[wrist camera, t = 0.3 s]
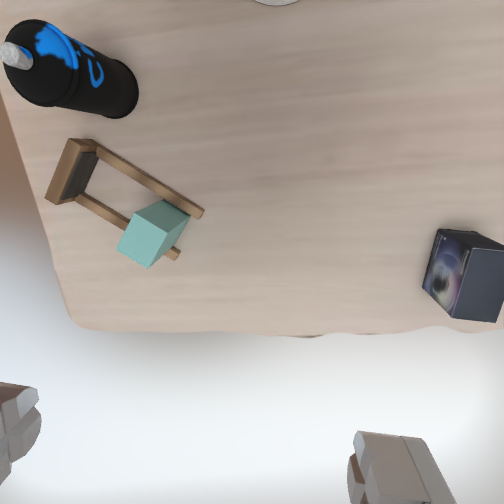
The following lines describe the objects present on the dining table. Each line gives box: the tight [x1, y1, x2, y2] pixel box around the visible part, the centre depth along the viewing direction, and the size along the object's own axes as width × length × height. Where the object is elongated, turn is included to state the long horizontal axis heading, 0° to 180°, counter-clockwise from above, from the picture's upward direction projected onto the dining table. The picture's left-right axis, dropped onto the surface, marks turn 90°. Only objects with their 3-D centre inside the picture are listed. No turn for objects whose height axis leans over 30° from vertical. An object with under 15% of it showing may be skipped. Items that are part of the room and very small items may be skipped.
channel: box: [45, 138, 205, 261], centre depth 52 cm, size 21×10×6 cm, turn 58°
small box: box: [422, 229, 504, 323], centre depth 48 cm, size 11×6×10 cm, turn 176°
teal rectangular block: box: [116, 199, 191, 269], centre depth 49 cm, size 5×6×12 cm
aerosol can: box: [0, 19, 139, 119], centre depth 40 cm, size 8×8×20 cm
